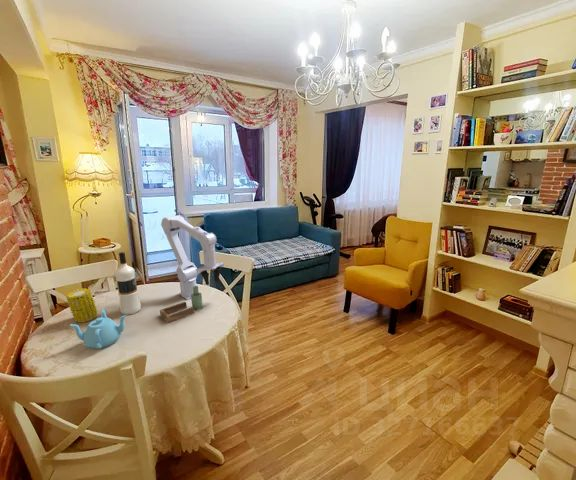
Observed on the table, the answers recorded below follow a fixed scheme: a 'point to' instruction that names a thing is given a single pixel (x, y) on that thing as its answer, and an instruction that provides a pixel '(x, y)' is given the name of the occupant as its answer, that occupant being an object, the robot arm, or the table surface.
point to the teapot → (100, 332)
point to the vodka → (127, 287)
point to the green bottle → (196, 299)
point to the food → (82, 305)
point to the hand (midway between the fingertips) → (211, 282)
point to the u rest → (175, 308)
